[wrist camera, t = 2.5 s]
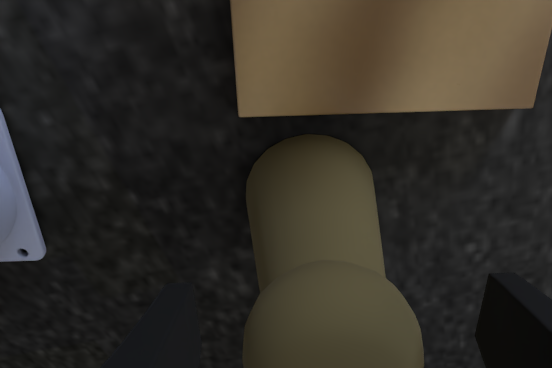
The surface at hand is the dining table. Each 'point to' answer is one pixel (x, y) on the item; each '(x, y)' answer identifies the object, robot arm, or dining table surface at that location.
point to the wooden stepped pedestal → (387, 55)
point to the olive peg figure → (322, 264)
